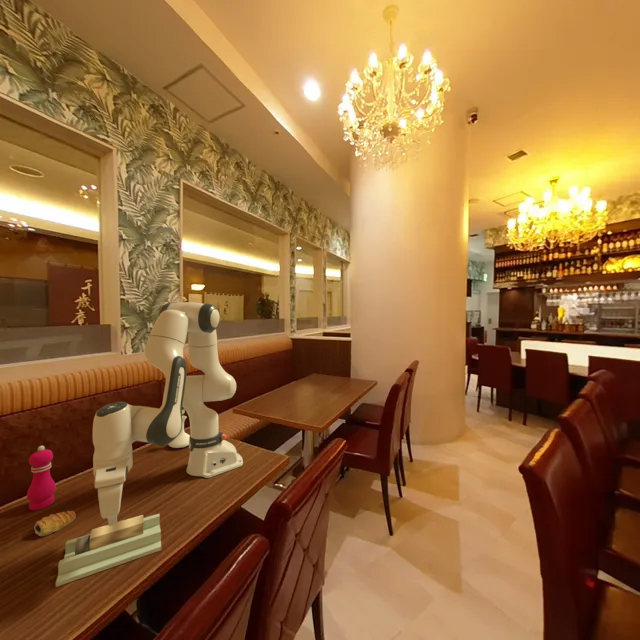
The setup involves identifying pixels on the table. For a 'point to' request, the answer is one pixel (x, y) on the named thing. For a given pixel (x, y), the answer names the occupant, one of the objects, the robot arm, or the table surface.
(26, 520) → the table surface
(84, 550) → the grey-capped wooden block
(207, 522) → the table surface
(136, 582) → the table surface
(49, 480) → the pepper mill
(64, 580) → the grooved moulding strip
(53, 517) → the pastry
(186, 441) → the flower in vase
